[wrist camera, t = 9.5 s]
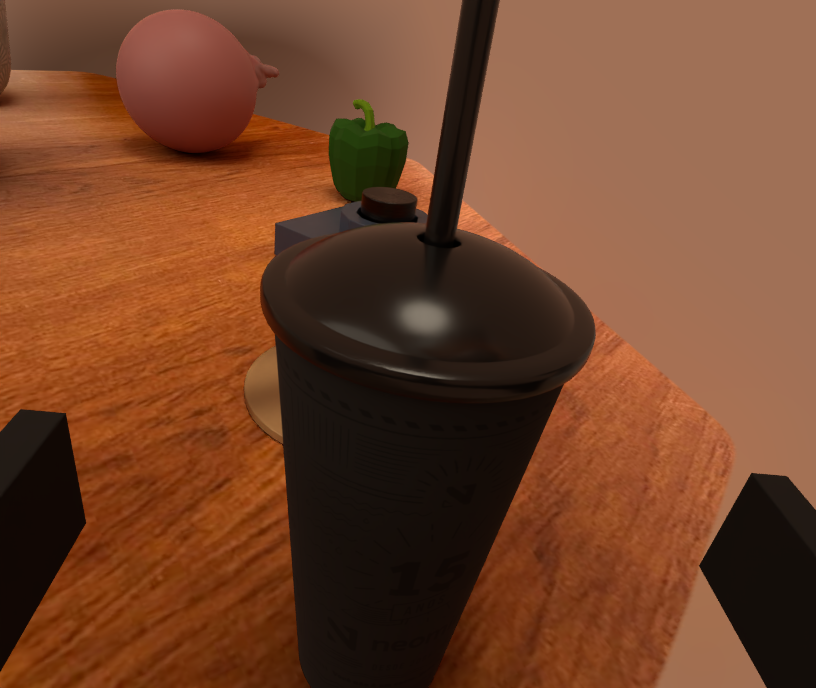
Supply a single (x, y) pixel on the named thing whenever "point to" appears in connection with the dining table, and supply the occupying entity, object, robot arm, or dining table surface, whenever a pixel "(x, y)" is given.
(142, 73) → the balloon
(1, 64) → the planter
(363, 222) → the plate
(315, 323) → the drinking cup
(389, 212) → the button
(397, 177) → the bell pepper
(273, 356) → the coaster
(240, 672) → the dining table surface
